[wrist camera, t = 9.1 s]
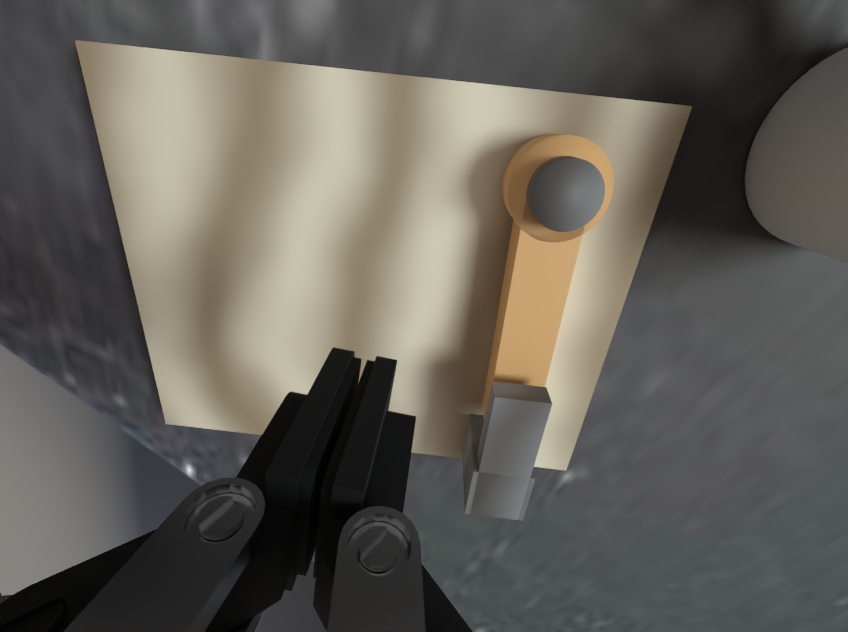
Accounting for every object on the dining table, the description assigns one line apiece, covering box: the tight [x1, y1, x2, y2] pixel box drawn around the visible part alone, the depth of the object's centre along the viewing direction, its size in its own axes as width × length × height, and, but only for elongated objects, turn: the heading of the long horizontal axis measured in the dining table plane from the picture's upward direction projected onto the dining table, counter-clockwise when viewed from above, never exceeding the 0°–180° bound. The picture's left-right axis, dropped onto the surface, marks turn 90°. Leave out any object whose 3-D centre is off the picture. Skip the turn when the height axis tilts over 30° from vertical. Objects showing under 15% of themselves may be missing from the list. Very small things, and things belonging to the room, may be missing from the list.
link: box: [482, 134, 614, 419], centre depth 19 cm, size 14×4×2 cm, turn 176°
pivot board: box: [75, 40, 692, 521], centre depth 19 cm, size 25×20×6 cm
